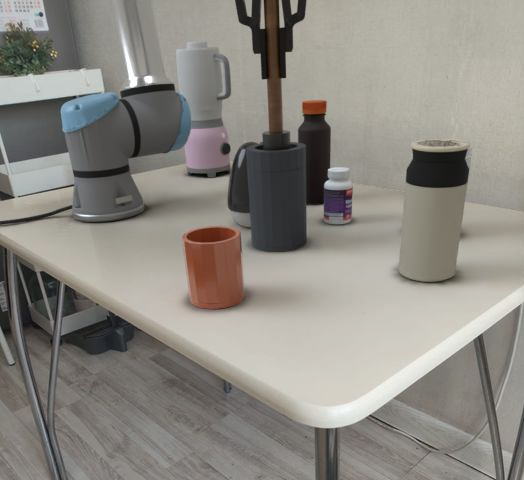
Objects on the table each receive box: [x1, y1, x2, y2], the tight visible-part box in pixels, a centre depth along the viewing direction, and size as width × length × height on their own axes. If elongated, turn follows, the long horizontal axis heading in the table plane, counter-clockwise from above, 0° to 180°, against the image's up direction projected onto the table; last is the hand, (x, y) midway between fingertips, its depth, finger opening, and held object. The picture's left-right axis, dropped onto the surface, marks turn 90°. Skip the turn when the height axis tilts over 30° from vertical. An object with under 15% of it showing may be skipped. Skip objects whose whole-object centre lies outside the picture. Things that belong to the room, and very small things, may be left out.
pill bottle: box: [323, 166, 354, 225], centre depth 101 cm, size 5×5×10 cm
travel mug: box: [397, 138, 472, 283], centre depth 74 cm, size 8×8×18 cm
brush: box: [262, 0, 291, 150], centre depth 81 cm, size 4×4×24 cm
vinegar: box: [297, 99, 332, 205], centre depth 112 cm, size 7×7×20 cm
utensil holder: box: [246, 141, 308, 253], centre depth 89 cm, size 10×10×16 cm
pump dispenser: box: [226, 141, 263, 229], centre depth 100 cm, size 10×10×15 cm
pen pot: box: [181, 225, 246, 310], centre depth 72 cm, size 8×8×9 cm
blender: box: [175, 40, 232, 178], centre depth 141 cm, size 16×12×32 cm
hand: (274, 78), depth 81 cm, fingers closed on brush, 2 cm apart
